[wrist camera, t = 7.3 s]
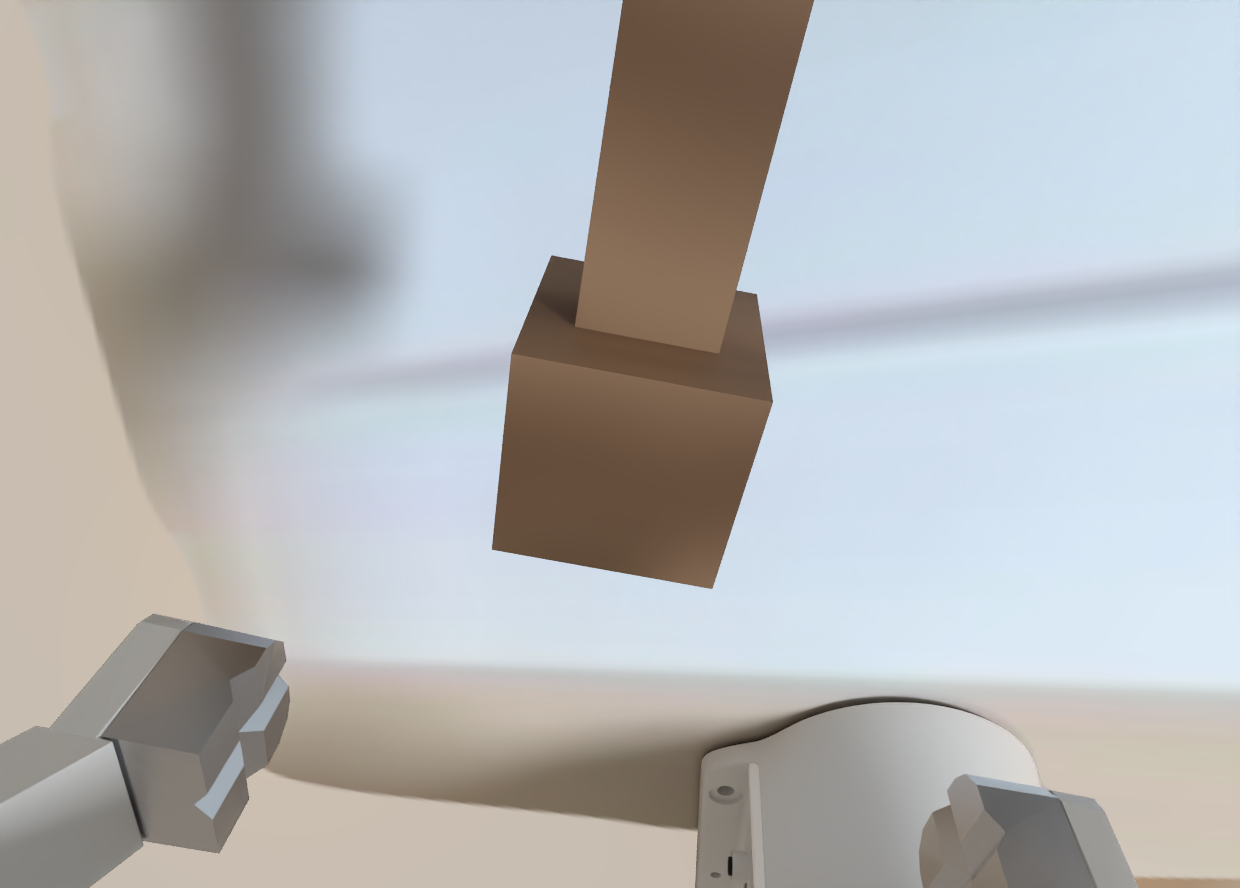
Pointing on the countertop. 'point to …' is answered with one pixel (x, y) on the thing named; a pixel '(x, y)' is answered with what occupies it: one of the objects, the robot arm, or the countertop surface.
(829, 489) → the countertop surface
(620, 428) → the wooden mallet
